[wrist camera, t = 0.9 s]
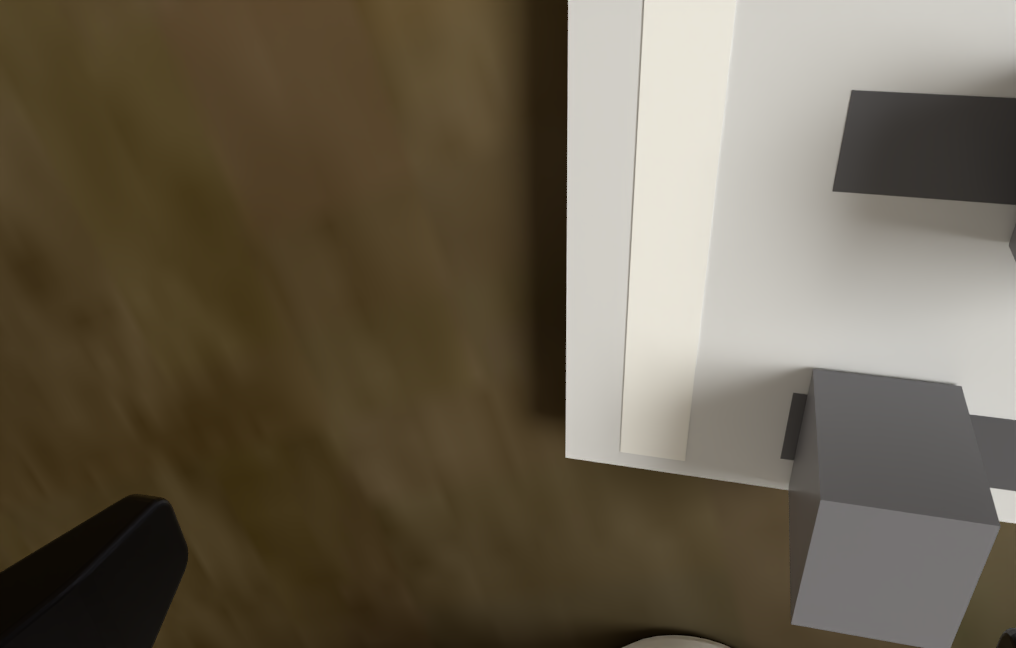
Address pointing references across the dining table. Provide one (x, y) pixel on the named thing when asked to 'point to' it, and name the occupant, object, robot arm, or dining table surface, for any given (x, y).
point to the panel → (785, 222)
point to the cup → (675, 642)
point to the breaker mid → (1013, 243)
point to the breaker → (887, 510)
